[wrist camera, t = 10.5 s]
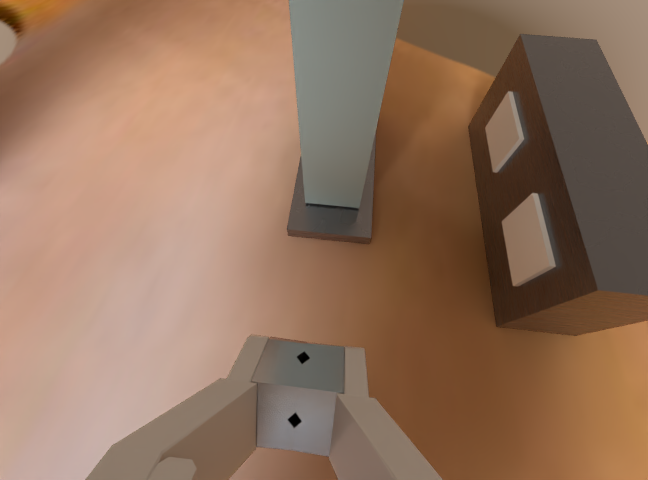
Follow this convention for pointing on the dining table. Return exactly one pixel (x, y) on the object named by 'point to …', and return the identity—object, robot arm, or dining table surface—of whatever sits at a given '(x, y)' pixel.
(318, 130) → the block
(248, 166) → the dining table surface
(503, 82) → the block
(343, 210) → the rail
